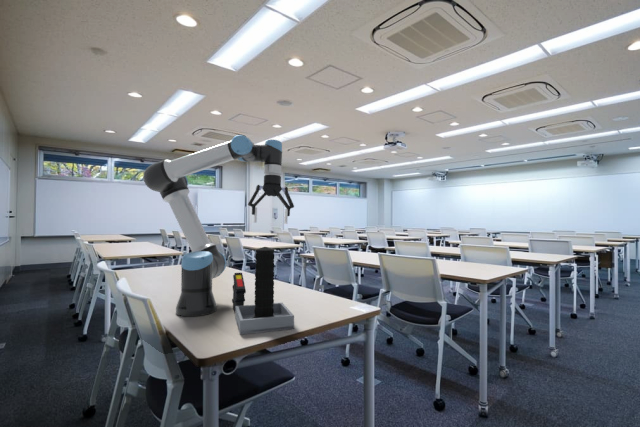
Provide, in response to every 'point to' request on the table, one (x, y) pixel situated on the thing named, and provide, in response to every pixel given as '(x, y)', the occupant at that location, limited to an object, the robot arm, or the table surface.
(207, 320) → the table surface
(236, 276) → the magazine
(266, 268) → the handle grip
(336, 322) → the table surface
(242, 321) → the tray
